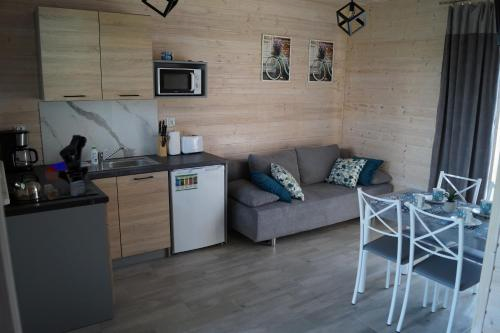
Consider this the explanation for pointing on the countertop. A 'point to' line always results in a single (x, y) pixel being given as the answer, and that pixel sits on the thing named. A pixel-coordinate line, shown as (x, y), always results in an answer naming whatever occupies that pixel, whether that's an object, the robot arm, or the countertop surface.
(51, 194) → the walnut block
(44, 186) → the terracotta block
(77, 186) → the medicine box
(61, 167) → the house
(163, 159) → the countertop surface
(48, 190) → the dark grey cylinder
